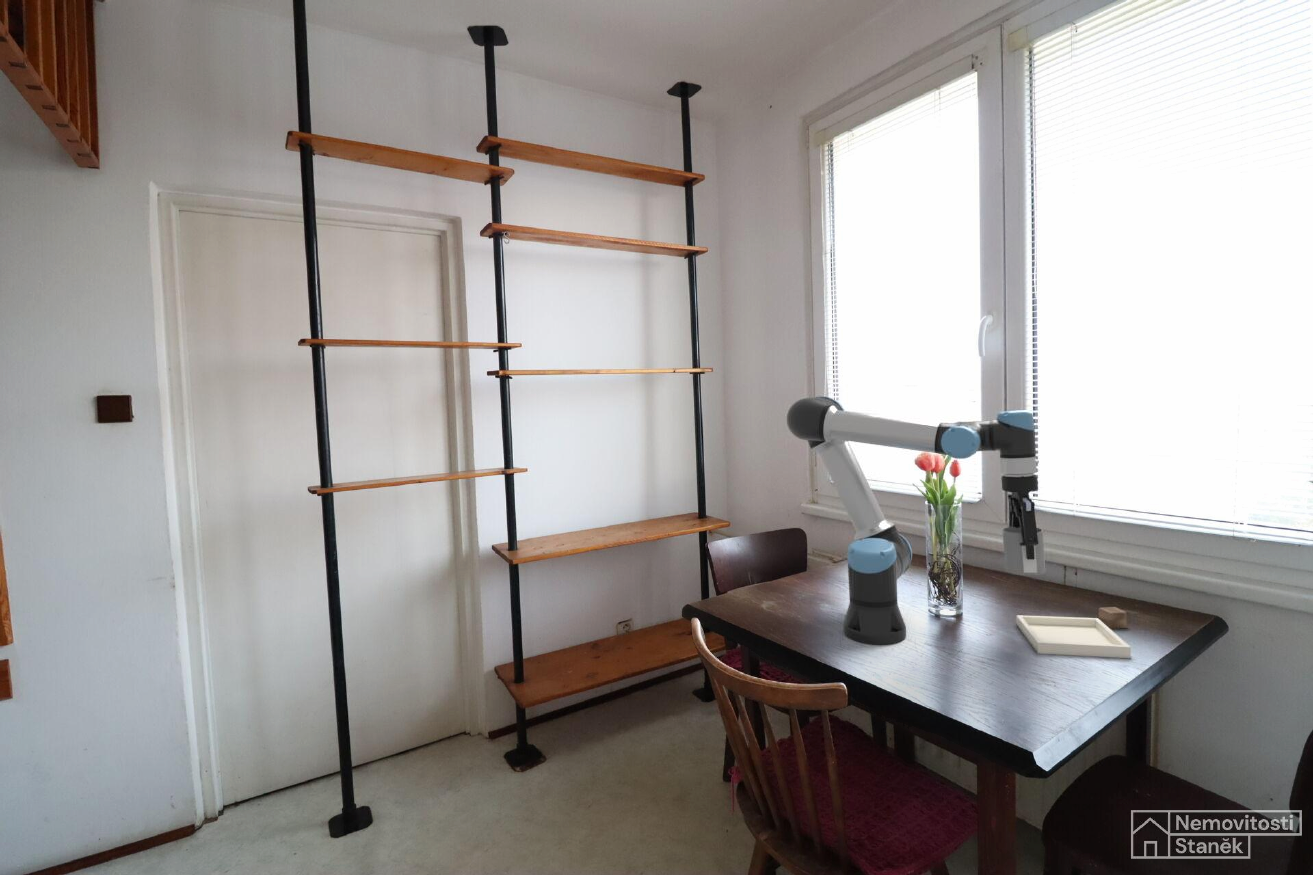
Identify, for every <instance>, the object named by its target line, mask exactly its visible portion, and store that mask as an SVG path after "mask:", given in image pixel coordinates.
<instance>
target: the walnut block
mask: <svg viewBox="0 0 1313 875" xmlns="http://www.w3.org/2000/svg"><path fill="white" fill-rule="evenodd" d="M1127 616H1128V614H1127V612H1126V611H1125V610H1123V609H1120V608H1118V607H1115V606H1110V607H1099V608H1098V619H1099V620H1101V621H1102V622H1103V623H1104V624H1105V625H1106V626H1107V627H1108V628H1110V629H1111V630H1113V629H1128V624H1127V623H1128V619H1127V618H1128V617H1127Z"/></svg>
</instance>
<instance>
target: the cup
mask: <svg viewBox="0 0 1313 875" xmlns="http://www.w3.org/2000/svg"><path fill="white" fill-rule="evenodd" d="M1036 528H1037V536H1038V545H1035V546H1036V562H1037V573H1024V572H1023V559H1022V546H1020V543H1023V540H1022V535H1021V529H1020V527H1019V528H1015V527H1009V526H1008V527H1004V528H1002V542H1003V543H1002V544H1003V554H1004V555H1003V557H1004V559H1003V560H1004V570H1005V571H1006V572H1007V573H1010V574H1013V575H1019V576H1039V575H1043V574H1045V573H1046V560H1045V544H1044V530H1043V529H1042V528H1040V527H1036Z"/></svg>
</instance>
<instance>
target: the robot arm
mask: <svg viewBox="0 0 1313 875" xmlns="http://www.w3.org/2000/svg"><path fill="white" fill-rule="evenodd" d="M786 426H787V428H788V430H789V431H790V433H792V435H793V436H795V437H796V438H797V439H799V440H803V441H807V444H808V446H809V447H810V450H811V451H813V452H815V453H817V454H819V456H820V458H821V460H822V462H823V464H824V466H825V469H826V471H827V473H828V475H829V477H830V479H831V481H832V483H833V485H834V488H835V489H836V492H837V494H838V496H839V498H840V500H841V502H842V505H843V506H844V509H845V511H846V514H847V515H848V517H849V519H850V521H851V524H852V526H853V528H854V531H855V534H854V537H853V542H852V543H850V544H849V546H848V548H847V555H846V561H847V571H848V572H847V574H848V592H849V604H848V608H847V610H846V614H845V617H844V620H843V633H844V635H845V636H846V637H848V638H850V639H851V640H853V641H857V642H859V643H863V644H869V645H870V644H871V645H890V644H895V643H896V644H897V643H899V642H901V641H903V640H905V639H906V637H907V626H906V623H905V620H904V618H903V614H902V613H901V609H900V608H899V603H898V583H897V582H898V579H900V577H901V576H903V574H905V573H906V572H907V570H908V569H909V568H910V566H911V562H912V559H913V549H912V547H911V544H910V542H909V541H908V540H907V538H906V537H904V536H903V535H902V534H900V533H899V531H898V528H897V527H896V524H895V523H894V522H892V521H889V520H887V519H886V517H885V515H884V513H883V511H882V509H881V507H880V505H879V502H878V500H877V498H876V496H875V495H874V492H873V490H872V488H871V486H870V484H869V482H868V480H867V478H866V476H865V474H864V471H863V469H862V468H861V465H860V463H859V461H858V458H857V457H856V454H855V453H854V451H853V449H852V446H851V444H850V443H849V442H854V443H861V444H868V445H875V446H881V447H882V446H883V447H890V448H897V449H903V450H911V451H918V452H925V453H932V454H938V455H945V456H948V457H951V458H953V459H957V460H965V459H968V458H971V457H972V456H973V455H975V454H976V453H977V452H989V451H990V452H993V451H994V452H995V451H998V452H999V464H1000V473H1001V474H1002V476H1001V490H1002V491H1004V492H1006V493H1007V501H1008V527H1015V528H1019V527H1020V529H1021V535H1022V540H1023V543H1020V546H1022V559H1023V572H1024V573H1037V562H1036V546H1035V545H1038V536H1037V528H1038V527H1037V522H1036V512H1035V504H1036V503H1035V502H1034V501H1033V500H1032V498H1030V493H1031V492H1036V491H1038V489H1039V482H1038V476H1037V475H1036V474H1035V473H1037V472H1038V470H1037V464H1039V459H1037V458H1036V457H1037V456H1036V455H1037V454H1036V453H1037V451H1036V432H1035V431H1036V430H1035V424H1034V416H1033V412H1032V411H1030V410H1028V409H1027V410H1025V409H1021V410H1018V409H1017V410H1006V411H999V412H998V413H997V417H996V419H994V420H980V421H978V420H977V421H976V420H975V421H956V422H940V421H934V420H933V421H931V420H926V419H925V420H923V419H915V418H906V417H899V416H892V415H891V416H890V415H883V414H882V415H881V414H875V413H865V412H855V411H847V410H845V408H844V407H843V405H842V404H841V403H840V402H839V401H838V400H836V399H834V398H831V397H828V396H825V395H824V396H820V395H819V396H816V397H805V398H800V399H798V400H796V401H795V402H793V404H792V405H791V406H790V407H789V409H788V410H787V414H786Z"/></svg>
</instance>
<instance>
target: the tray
mask: <svg viewBox="0 0 1313 875" xmlns="http://www.w3.org/2000/svg"><path fill="white" fill-rule="evenodd" d="M1016 626H1017V627H1018V629H1019V630H1020V631H1021V632H1022V634H1023V635H1024V637H1025V638H1026V639H1027V640H1028V642H1029V643H1030V645H1031V646H1032V647H1033V649H1034V650H1035V651H1036V653H1037V654H1040V655H1041V654H1043V655H1044V654H1046V655H1061V656H1062V655H1063V656H1065V655H1066V656H1078V657H1079V656H1083V657H1097V658H1099V657H1101V658H1102V657H1103V658H1120V659H1131V658H1132V656H1131V654H1132V653H1131V646H1130V645H1129V644H1128V643H1127V642H1126V641H1124V640H1123V639H1122V638H1121V637H1120V635H1118V634H1117V633H1115V632H1114V631H1113V629H1110V628H1108V627H1107V626H1106V625H1105V624H1104V623H1103V622H1102V621H1101V620H1099V617H1098V618H1097V617H1075V616H1074V617H1073V616H1072V617H1071V616H1050V615H1049V616H1046V615H1021V614H1020V615H1018V614H1017V615H1016Z"/></svg>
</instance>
